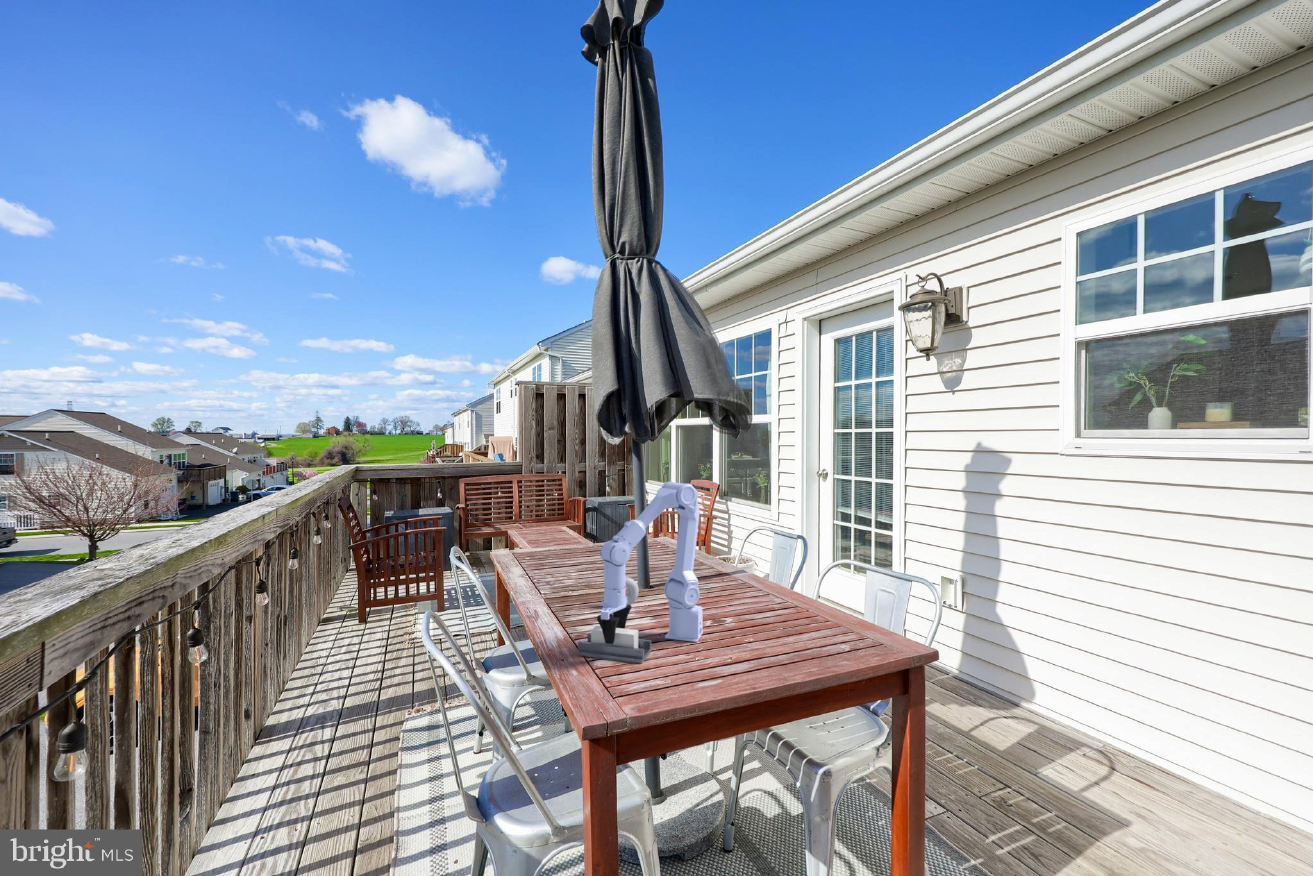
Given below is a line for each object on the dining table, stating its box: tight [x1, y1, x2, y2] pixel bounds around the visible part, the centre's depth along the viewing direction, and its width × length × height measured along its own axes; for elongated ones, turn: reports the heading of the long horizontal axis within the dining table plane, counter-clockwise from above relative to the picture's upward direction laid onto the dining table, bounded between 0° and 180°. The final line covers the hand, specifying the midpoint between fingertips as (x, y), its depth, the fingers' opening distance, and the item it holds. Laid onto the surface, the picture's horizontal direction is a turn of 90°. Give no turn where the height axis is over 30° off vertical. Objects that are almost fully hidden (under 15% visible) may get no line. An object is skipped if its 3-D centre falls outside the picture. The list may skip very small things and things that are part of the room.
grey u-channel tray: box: [576, 632, 653, 665], centre depth 143 cm, size 18×9×3 cm, turn 73°
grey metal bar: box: [590, 625, 639, 648], centre depth 143 cm, size 12×4×5 cm, turn 73°
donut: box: [626, 576, 640, 606], centre depth 182 cm, size 10×4×10 cm, turn 98°
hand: (614, 638), depth 143 cm, fingers open, 7 cm apart
